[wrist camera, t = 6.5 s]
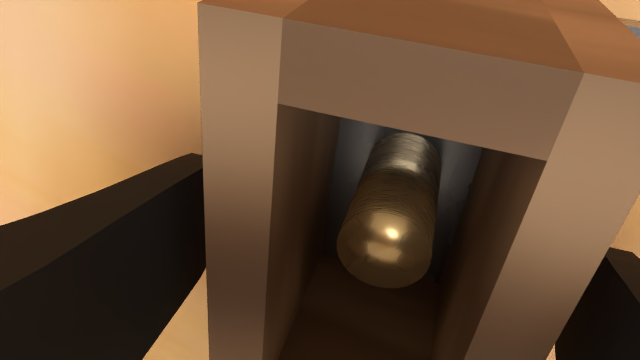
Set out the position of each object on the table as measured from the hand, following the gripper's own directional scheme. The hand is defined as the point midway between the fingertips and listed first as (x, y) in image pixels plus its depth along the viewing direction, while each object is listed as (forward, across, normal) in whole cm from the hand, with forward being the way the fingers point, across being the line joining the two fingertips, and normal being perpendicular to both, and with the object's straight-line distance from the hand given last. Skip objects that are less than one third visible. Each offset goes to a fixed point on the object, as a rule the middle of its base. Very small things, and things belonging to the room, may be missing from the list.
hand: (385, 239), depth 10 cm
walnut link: (+3, 0, 0) cm, 3 cm away
